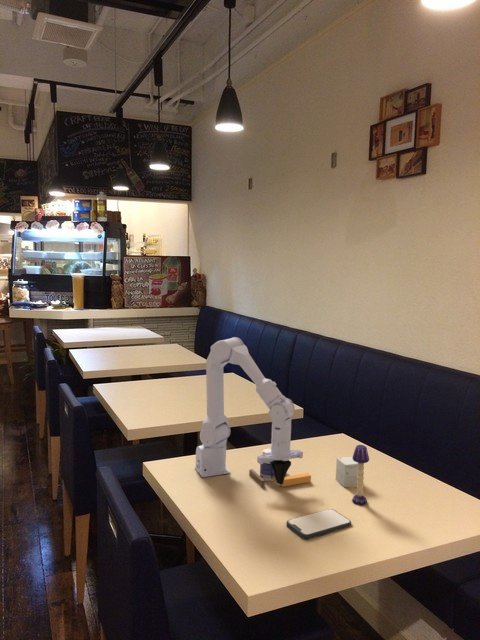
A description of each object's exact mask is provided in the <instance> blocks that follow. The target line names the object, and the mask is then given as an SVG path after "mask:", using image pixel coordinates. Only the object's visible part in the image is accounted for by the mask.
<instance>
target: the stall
mask: <svg viewBox="0 0 480 640" xmlns="http://www.w3.org/2000/svg"><path fill="white" fill-rule="evenodd" d="M248 471H249V472H248V476H249V477H250V478H251V479H252V480H253V481H254V482H255V483H257V485H258V486H259V487H260V488H265V487H266V480H264V479H263V478H261V477H260V474H259V473H257V472H256V470H254V469H253V468H252V469H249V470H248ZM287 476H291V475H290V474H289V473H288V472H287V473H286V475H285V477H287Z"/></svg>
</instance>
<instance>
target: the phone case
mask: <svg viewBox="0 0 480 640" xmlns="http://www.w3.org/2000/svg"><path fill="white" fill-rule="evenodd" d="M351 526H352V520H351V519H349V518H347V517H346V516H344V515H343V514H341V513H339V512H338V511H336V510H335V509H333V508H327V509H325V510H324V509H323V510H321V511H317V512H313V513H310V514H306V515H303V516H298V517H294V518H290V519H287V520H286V527H287V528H288V529H289V530H290V531H292V532H294V534H296V535H297V536H298V537H300V538H301V539H302V540H305V541H308V540H312V539H315V538H318V537H321V536H324V535H328V534H330V533H334V532H337V531H339V530H343V529H345V528H349V527H351ZM327 533H328V534H327Z"/></svg>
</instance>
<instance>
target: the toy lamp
mask: <svg viewBox="0 0 480 640" xmlns="http://www.w3.org/2000/svg"><path fill="white" fill-rule="evenodd" d="M352 457H353V460H354V461H355V462H358V472H357V474H358V476H357V480H358V481H357V485H358V486H356V494H355V495H354V496H352V499H351V501H352V503H353V504H354V505H358V506H365V505H367V504H368V499H367V497H366V496H365V495H364V491H363V490H364V479H365V477H364V474H365V472H364V470H365V466H364V465H365V463H368V462H369V461H370V456H369V451H368V448H367V446H366V445H363V444H358V445H356V446H355V449H354V451H353V453H352Z"/></svg>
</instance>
